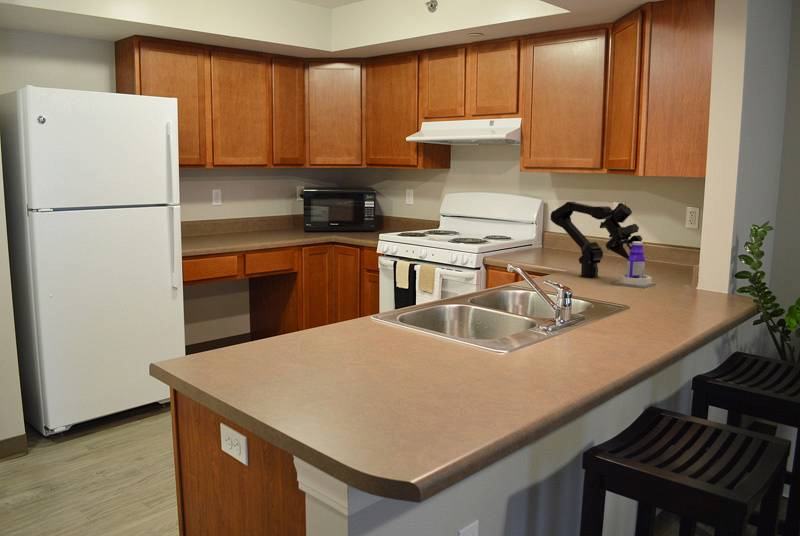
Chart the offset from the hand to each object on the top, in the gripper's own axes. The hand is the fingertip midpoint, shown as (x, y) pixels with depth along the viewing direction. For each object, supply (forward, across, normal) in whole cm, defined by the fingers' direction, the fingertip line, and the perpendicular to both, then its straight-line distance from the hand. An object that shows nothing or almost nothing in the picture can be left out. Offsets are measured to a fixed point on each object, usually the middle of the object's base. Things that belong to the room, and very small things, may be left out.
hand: (635, 257), depth 286 cm
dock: (+9, 0, +8) cm, 12 cm away
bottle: (+8, 0, +7) cm, 11 cm away
